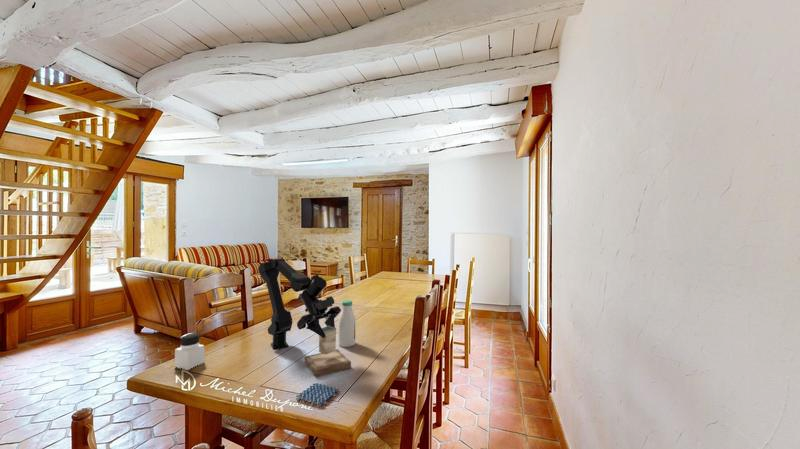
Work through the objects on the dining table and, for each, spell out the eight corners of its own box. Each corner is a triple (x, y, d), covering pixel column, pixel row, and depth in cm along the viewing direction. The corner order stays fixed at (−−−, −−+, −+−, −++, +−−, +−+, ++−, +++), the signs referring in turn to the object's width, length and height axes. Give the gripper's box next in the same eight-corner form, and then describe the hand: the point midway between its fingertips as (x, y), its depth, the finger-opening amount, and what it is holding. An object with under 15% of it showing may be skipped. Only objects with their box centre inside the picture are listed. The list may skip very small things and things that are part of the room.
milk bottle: (351, 348, 143) (352, 303, 142) (335, 346, 144) (336, 302, 144) (357, 341, 150) (357, 299, 150) (342, 340, 152) (342, 298, 152)
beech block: (318, 351, 125) (319, 329, 125) (328, 347, 129) (329, 325, 129) (325, 354, 122) (326, 331, 122) (335, 350, 127) (336, 327, 126)
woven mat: (321, 411, 97) (322, 404, 97) (294, 402, 101) (294, 396, 101) (341, 394, 106) (341, 388, 106) (315, 387, 110) (315, 381, 110)
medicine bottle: (204, 362, 127) (205, 332, 127) (187, 370, 120) (187, 339, 120) (191, 359, 129) (191, 330, 129) (174, 367, 123) (174, 336, 122)
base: (304, 362, 128) (304, 356, 128) (337, 355, 135) (337, 348, 135) (315, 377, 116) (315, 370, 116) (350, 368, 124) (350, 361, 124)
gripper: (301, 295, 120) (321, 330, 114) (338, 287, 135) (357, 317, 129) (289, 312, 125) (306, 347, 119) (325, 302, 140) (343, 332, 134)
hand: (329, 335), depth 125 cm, fingers closed on beech block, 5 cm apart
